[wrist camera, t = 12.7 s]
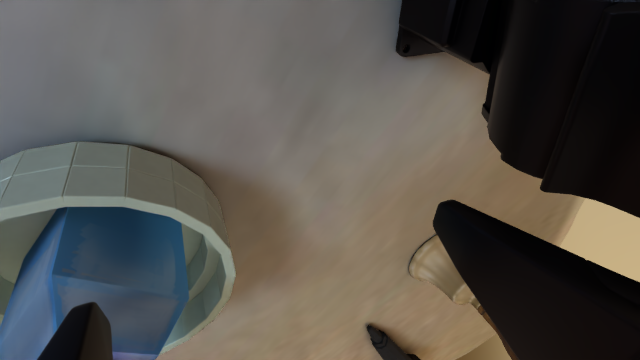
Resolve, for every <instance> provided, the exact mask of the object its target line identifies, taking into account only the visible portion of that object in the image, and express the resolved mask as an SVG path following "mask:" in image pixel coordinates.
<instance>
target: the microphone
mask: <svg viewBox="0 0 640 360" xmlns="http://www.w3.org/2000/svg"><path fill="white" fill-rule="evenodd" d="M367 330H368V332H369V334H370V336H371V341H372V344H373V346H374V347H375V349H376V350H377V351H378V353H379V354H380V355H381V357H382V358H383V359H384V360H420V359H419V358H418V357H417V356H416V355H414V354H406V353H405V352H404V351H403V350H402V349H401V348H400V347H398V346H397V345H396V344H395V343H394V342H393V341H392V340H391V339H390V338H389V337H388V336H387V335H386V334H385V333H384V332H381V331H380V330H379V331H378V330H376V329H375V328H373V327H372V326H370V325H368V326H367Z"/></svg>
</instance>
